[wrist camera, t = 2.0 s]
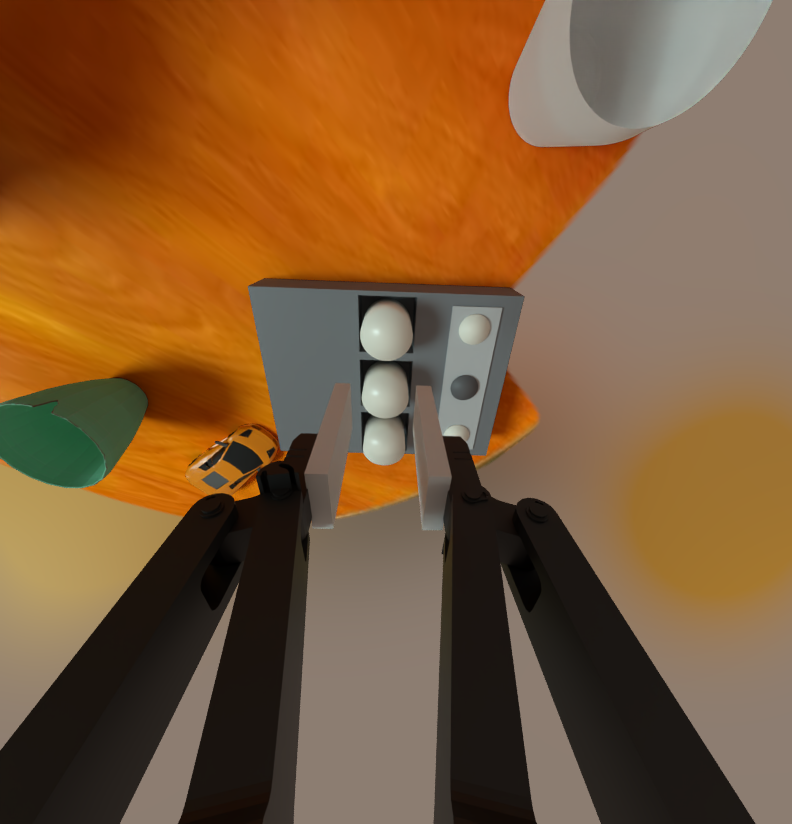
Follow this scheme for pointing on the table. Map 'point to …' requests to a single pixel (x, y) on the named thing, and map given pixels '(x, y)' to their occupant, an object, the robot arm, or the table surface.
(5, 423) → the mug
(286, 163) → the table surface
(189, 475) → the toy car
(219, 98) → the table surface
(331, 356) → the console
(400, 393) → the button
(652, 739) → the robot arm
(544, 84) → the cup
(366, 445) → the button
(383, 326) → the button
